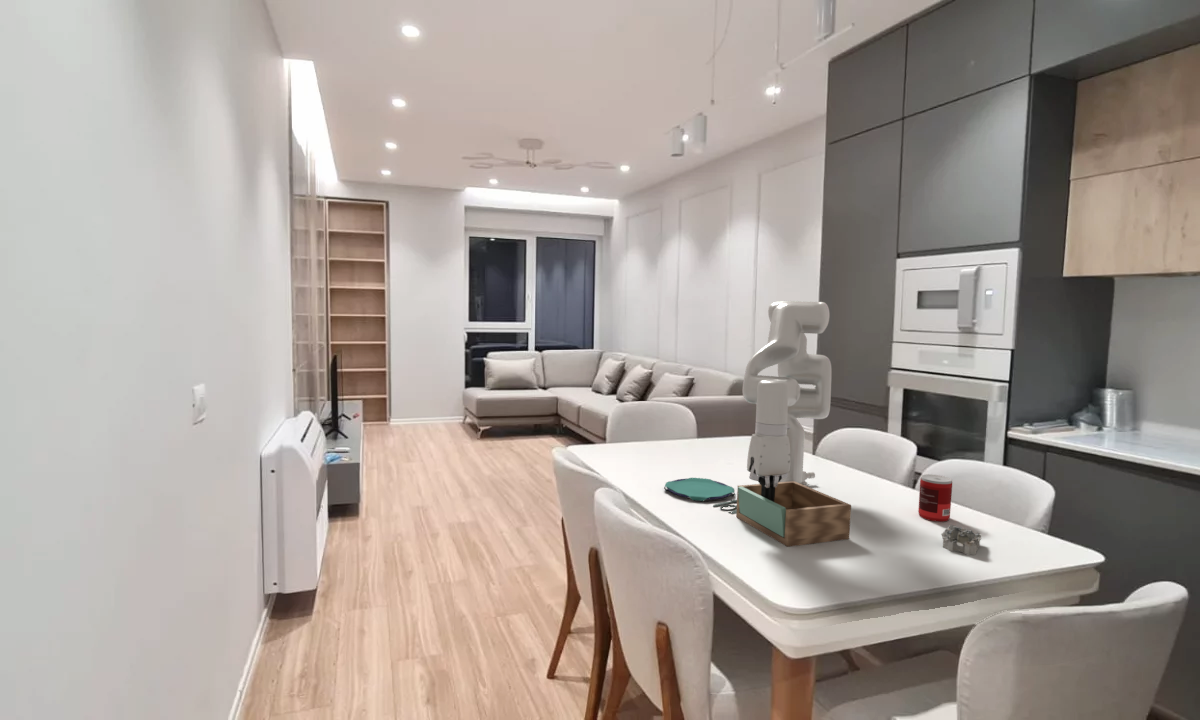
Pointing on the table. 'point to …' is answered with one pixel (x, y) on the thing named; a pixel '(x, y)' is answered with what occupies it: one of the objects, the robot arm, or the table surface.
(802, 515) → the crate
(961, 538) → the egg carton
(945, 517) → the canned food
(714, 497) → the teal flat rounded piece
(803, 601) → the table surface
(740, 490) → the panel
